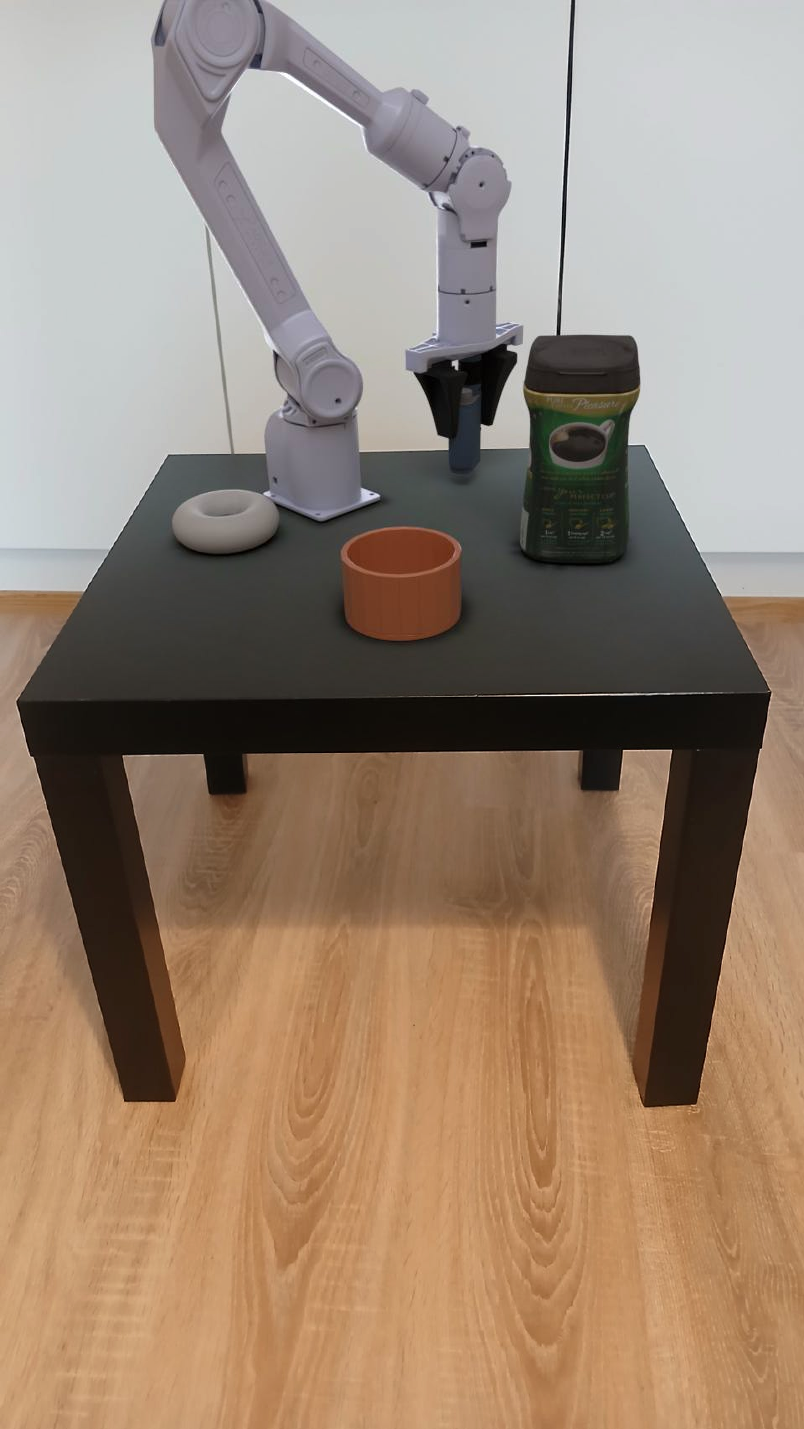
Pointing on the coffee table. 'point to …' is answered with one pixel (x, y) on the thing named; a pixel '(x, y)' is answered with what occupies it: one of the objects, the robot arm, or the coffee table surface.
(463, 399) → the vaping device
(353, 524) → the coffee table surface
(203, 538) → the donut
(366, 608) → the jar
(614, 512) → the coffee jar
